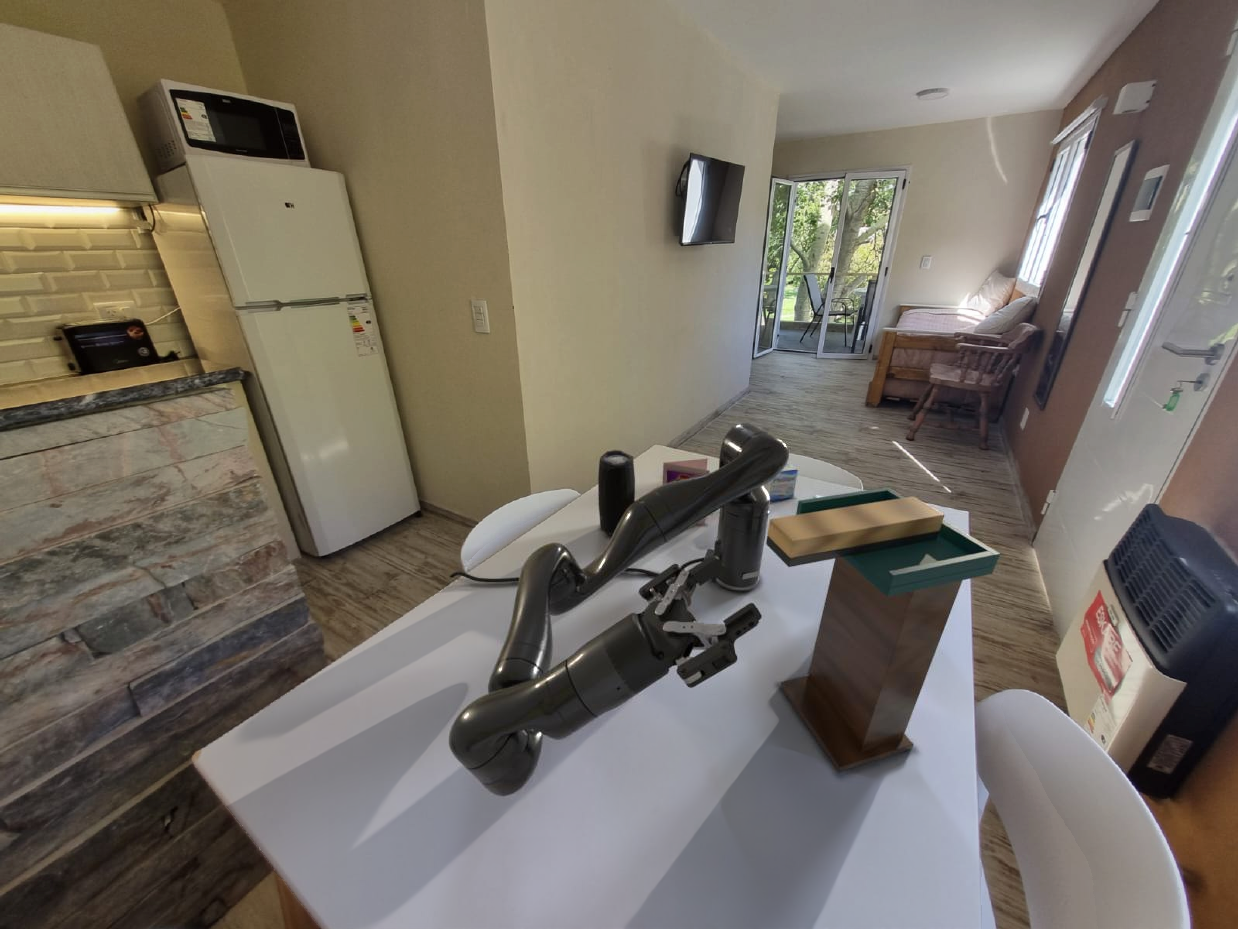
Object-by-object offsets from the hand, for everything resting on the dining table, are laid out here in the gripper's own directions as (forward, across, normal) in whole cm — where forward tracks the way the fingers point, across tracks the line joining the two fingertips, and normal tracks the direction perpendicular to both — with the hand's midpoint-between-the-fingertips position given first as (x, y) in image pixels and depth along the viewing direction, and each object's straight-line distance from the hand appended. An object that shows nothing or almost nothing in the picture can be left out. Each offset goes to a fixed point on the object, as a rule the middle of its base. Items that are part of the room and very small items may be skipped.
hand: (737, 583), depth 54 cm
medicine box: (+28, +62, +50) cm, 84 cm away
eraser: (+14, 0, +5) cm, 15 cm away
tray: (+18, 0, +8) cm, 20 cm away
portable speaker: (-13, +58, +26) cm, 65 cm away
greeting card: (+4, +60, +36) cm, 70 cm away
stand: (+2, 0, +35) cm, 35 cm away
